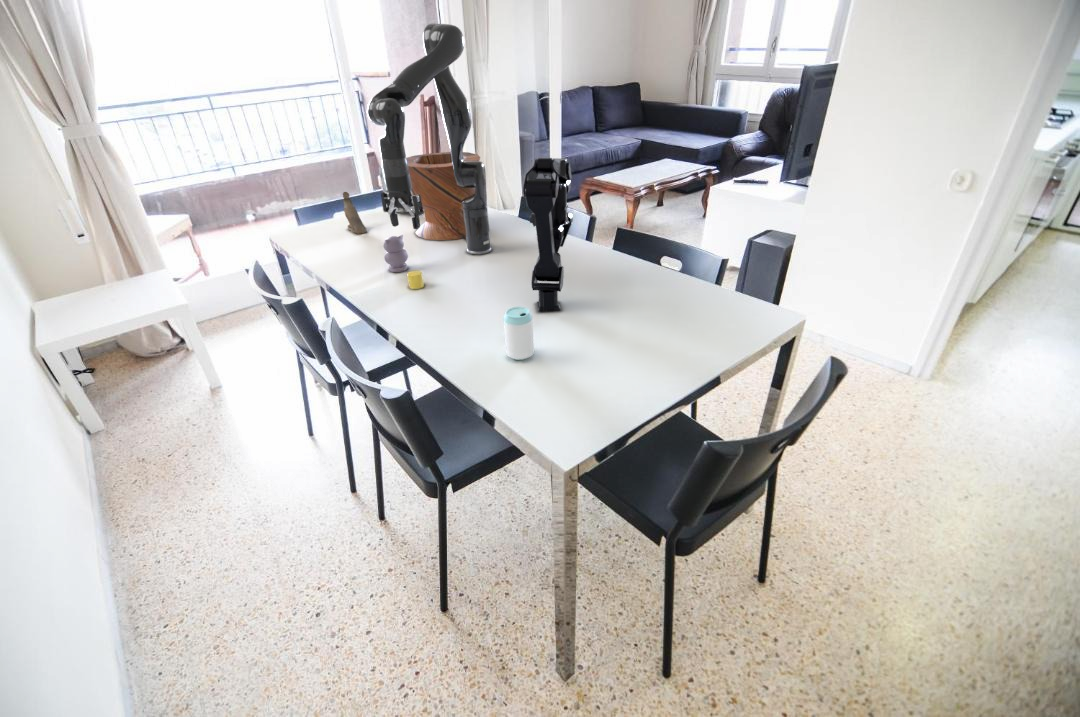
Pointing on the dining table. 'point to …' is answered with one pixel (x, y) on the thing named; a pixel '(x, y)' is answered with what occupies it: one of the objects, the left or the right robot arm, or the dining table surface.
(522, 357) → the can
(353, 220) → the brown carved statuette
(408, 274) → the canister
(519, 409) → the dining table surface
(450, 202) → the wooden planter
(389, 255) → the cat figurine
